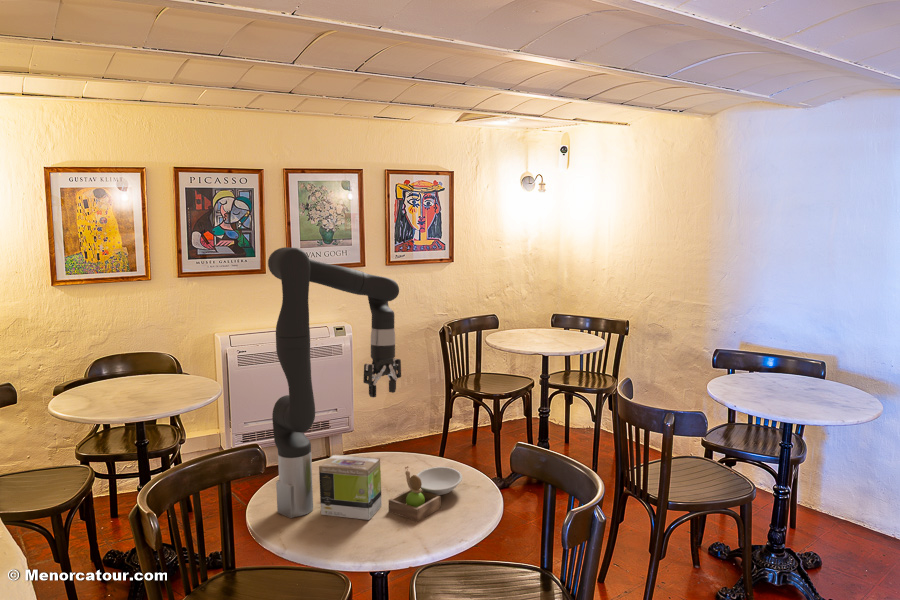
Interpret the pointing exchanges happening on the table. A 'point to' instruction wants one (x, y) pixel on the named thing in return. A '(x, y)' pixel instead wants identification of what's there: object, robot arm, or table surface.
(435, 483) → the dish
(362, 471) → the tea box
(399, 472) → the table surface
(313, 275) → the robot arm
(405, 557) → the table surface
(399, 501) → the brown wooden square tray
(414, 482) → the snail figurine
